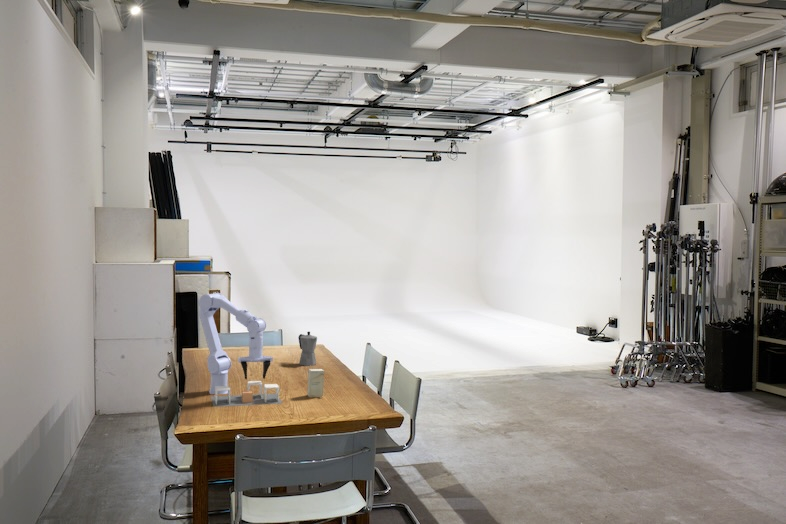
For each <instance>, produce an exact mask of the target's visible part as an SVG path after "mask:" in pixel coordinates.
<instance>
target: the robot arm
mask: <svg viewBox="0 0 786 524" xmlns="http://www.w3.org/2000/svg"><path fill="white" fill-rule="evenodd" d="M198 305H199V312H198V313H199V318H200V322H201V325H202V329H203V333H204V336H205V340H206V343H207V348H208V351H209V354H208V356H207V358H206V360H207V370H208V372H209V373H210V389H208V392H209V394H210V395H215V386H228V384H229V383H228V382H229V381H228V380H229V379H228V377H229V376H228V373H229V370H230V369H231V367H232V361H231V358H230V357H229V356H228V353H227V352H226V351H225V350H224V349H223V347H222V344H221V339H220V336H219V333H218V330H217V325H216V322H215V318H214V314H215V313H216V312H217V311H218V310H219V309H223V310H225V311H226V312H228V313H229V314H231V315H233V316H235V320H236V322H238V323H240V324H241V325H243V326H244V327H245V328H246V329H247V330H246V331H248V337H249V340H248V341H249V342H248V356H240V357H239V356H238V357H237V363H240V366H241V368H242V371H243V374H244V380H248V363H260V362H261V363H263V365H262V367H263V370H262V379H264V380H265V379H266V376H267V372H268V369H269V368H270V366H271V363H273V361H274V359H273V358H274V357H273V356H265V355H264V356H263V351H264V350H263V347H264V345H263V344H264V331H265V330H266V328H267V323H266V321H265V320H264V318H261V317H260V318H257V315H256V316H255V315H253V314H251V312H250V311H249V310H248V309H243V308H242V309H240V308H239V307H238V306H236V305H235V304H233V302H232V301H230V300H229V299H228V298H227V297H226V296H225V295H223V294H222V293H220V292H215V293H208V294H207V293H205V294H202V295H201V296H200V298H199V300H198ZM226 394H227V395H228V390H227V391H217V395H226Z"/></svg>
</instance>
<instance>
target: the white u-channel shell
mask: <svg viewBox="0 0 786 524" xmlns="http://www.w3.org/2000/svg"><path fill="white" fill-rule="evenodd" d="M251 386H258V387H259V393H258V394H259V395H260V397H261V398H262V394H263V388H264V384H263V382H262V381H261V380H250V381H247V385H246V387H247V389H246V391H251Z"/></svg>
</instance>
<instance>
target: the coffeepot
mask: <svg viewBox="0 0 786 524" xmlns="http://www.w3.org/2000/svg"><path fill="white" fill-rule="evenodd" d="M306 332H307V334H302V333H301V334H299V335H298V343H299V344H298V345H299V349H300V350H301V353H300V359H299V365H300V366H303V365H305V366H306V367H310V365H313V366H316V365H317V360H316V359H317V358H316V353H315V349H316V347H317V346H316V345H317V340H318V337H317V336H315V335H311V331H306ZM315 364H316V365H315ZM305 366H304V367H305Z"/></svg>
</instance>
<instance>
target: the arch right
mask: <svg viewBox="0 0 786 524" xmlns="http://www.w3.org/2000/svg"><path fill="white" fill-rule="evenodd" d="M269 389H275V394H276V400H277V401H278V402H279V398H280V385H278V384H277V383H265V384H263V394H264V395H263V399H264V401H265V402H266V399H267V394H268V393H267V392H268V391H267V390H269Z"/></svg>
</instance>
